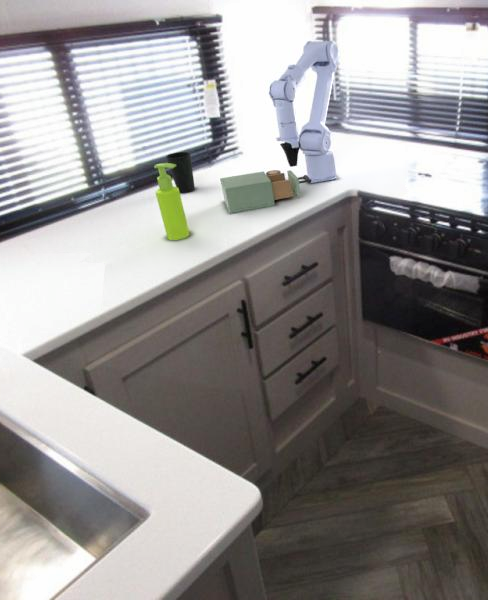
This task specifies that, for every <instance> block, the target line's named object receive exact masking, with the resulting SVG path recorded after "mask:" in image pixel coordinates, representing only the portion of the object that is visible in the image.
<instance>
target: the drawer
mask: <svg viewBox="0 0 488 600" xmlns="http://www.w3.org/2000/svg"><path fill="white" fill-rule="evenodd" d="M286 173H287V178H288V179H286V177H285V176H286V175H285V173H284V172H281V173H279V174H273V175H267V177H268V178H269V179H270V180H271V184H272V190H273V196H274V201H277V200H282V199H287V198H293V194H294V195H295V196H296V197H297V198H301V197H302V193H301V185H300V184H305V183H307V184H312V183H311V179H310V178H309V177H308V176H307V174H304V175H303V176H297V175H296V174H295V173H294V172H293V171H292V170H291V169H290V170H287V172H286Z"/></svg>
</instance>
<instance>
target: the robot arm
mask: <svg viewBox="0 0 488 600" xmlns="http://www.w3.org/2000/svg"><path fill="white" fill-rule="evenodd" d="M339 57H340V51H339V47H338V45H337V43H336V42H335V40H325V41H324V40H323V41H321V40H320V41H312V40H308V41H307V42H306V43H305V45H303V53H302V54H301V56H300V57H299V59H298V60H297V62H296V63H295V64H289V65H288V66H287V69H286V70H285V71H284V72H283V74H281V76H280V77H279V78H278V80H273V81H272V82H270V83H271V84H270V85H269V91H268V95H269V97H270V99H271V100H272V105H273V107H275V112H276V121H277V126H278V127H277V128H278V134H279V137H278V136H277V137H276V138H275V140H276V141H277V142H281V143H280V144H279V145H280V147H281V148H282V150H283V152H284V154H285V157H286V160H287V163H288V166H289V167H291V168H292V167H297V166H298V158H299V151H301V152H302V154H303V155H304V159H305V167H306V175H307V176H308V177H309V178H310V179H311V183H310V184H315V183H320V182H326V181H332V180H337V179H338V177H337V172H336V171H337V170H336V162H335V161H336V160H335V156H334V152H333V151H332V150H330V149H331V145H332V141H331V136H332V135H331V134H332V132H331V130H330V129H329V128H328V126H326V120H327V115H328V109H329V104H330V98H331V93H332V89H333V87H332V86H333V82H334V77H335V72H336V71H337V68H338V64H339ZM309 69H311V70H312V72H314V73H316V82H315V87H314V93H313V98H312V102H311V103H312V104H311V108H310V114H309V120H308V122H306V123H305V124H303V126H302V127H301V129H300V133H299V130H298V123H297V121H298V120H297V114H296V107H295V100H296V98H297V95H298V91H299V87H300V86H301V85H302V84H303V82H304V81H305V80H306V72H307V71H309Z"/></svg>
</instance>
